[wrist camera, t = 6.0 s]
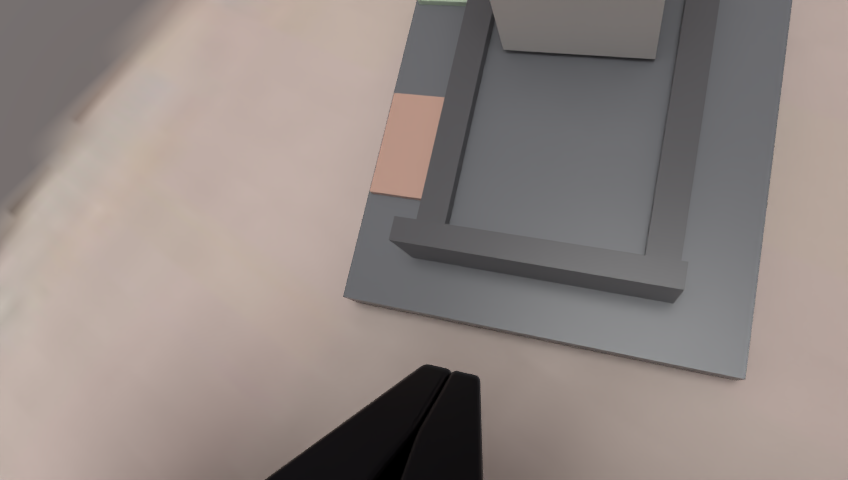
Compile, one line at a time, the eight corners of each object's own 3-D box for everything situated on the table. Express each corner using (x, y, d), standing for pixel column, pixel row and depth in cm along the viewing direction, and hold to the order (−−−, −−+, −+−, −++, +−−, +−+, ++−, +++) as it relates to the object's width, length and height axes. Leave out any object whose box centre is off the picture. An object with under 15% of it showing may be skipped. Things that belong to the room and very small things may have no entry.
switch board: (735, 380, 15) (768, 376, 12) (356, 301, 18) (311, 284, 15) (799, -120, 17) (838, -220, 14) (457, -112, 20) (435, -194, 17)
